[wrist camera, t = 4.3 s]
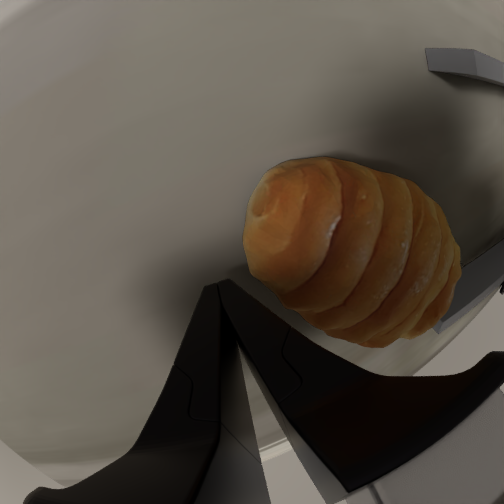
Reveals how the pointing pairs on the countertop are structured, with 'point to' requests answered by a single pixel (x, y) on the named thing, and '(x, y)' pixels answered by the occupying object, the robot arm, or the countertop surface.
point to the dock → (500, 256)
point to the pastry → (352, 249)
